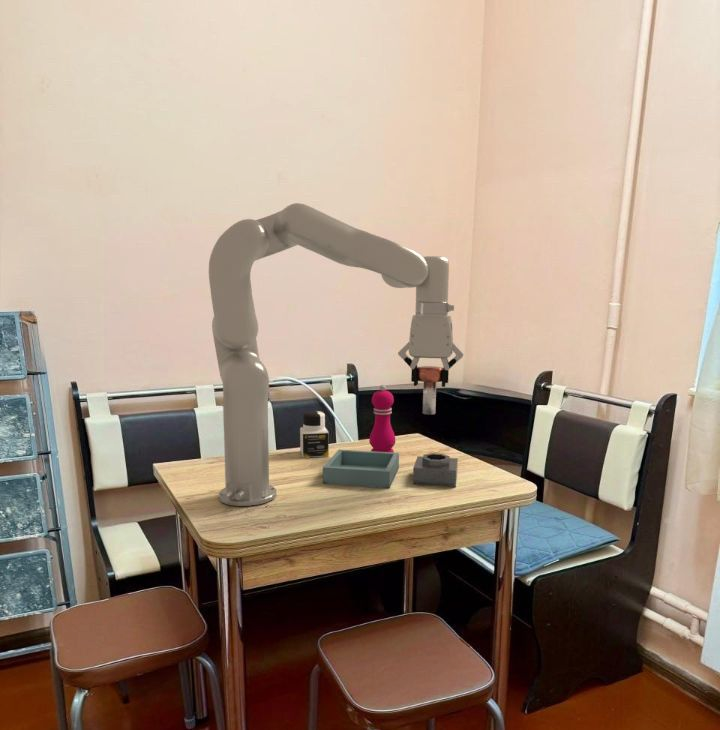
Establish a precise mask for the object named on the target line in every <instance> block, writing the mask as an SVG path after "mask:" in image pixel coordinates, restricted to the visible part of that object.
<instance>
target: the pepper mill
mask: <svg viewBox="0 0 720 730" xmlns="http://www.w3.org/2000/svg"><path fill="white" fill-rule="evenodd" d="M394 401H395V400H394V395H393V394H392V393H391V392H390V391H389V390H387V386H386V385H385V384H381V385H380V386H379V390H377V391H374V393H373V395H372V397H371V403H372V405H373V407H374V408H373V414H374V418H375V419H374V425H373V428H372V430H371V432H370V434H369V444H370V446H371V447H372V448H371V450H370V451H374V452H392V453H395V451H394V449H393V447H394V446H395V444H396V436H395V432H394V430H393V427H392V424H391V414H392V413H393V412H392V409H393V408H392V406H393V404H394Z"/></svg>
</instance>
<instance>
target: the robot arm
mask: <svg viewBox="0 0 720 730" xmlns="http://www.w3.org/2000/svg"><path fill="white" fill-rule="evenodd" d="M295 246H296V247H297V246H299V247H302V248H304V249H305V250H308V251H311V252H314V253H316V254H317V255H319V256H322V257H324V258H326V259H329V260H330V261H332V262H335V263H338V264H340V265H343V266H346V267H351V268H352V267H353V268H360V269H364V270H368V271H371V272H374V273H376V274H377V273H378V274H380V276H381V279H383V281H384V282H385V284H386V285H388V286H390V287H391V288H395V289H396V288H397V289H405V288H407V289H408V288H410V289H411V288H415V315H412V318H411V322H410V328H409V329H410V330H409V339H408V340H409V341H408V342H407V343H406V344H405V345H404V346H403V347H402V348H401V349H400V350H399V351H398V352H397V355H398V356H399V357H400V358H401V359H402V360H403V361H404V362H405V363H406V364H407V365H408V367H409V368H410V369H411V373H410V374H411V375H410V376H411V379H410V380H411V383H412V382H413V386H414V387H416V386H418V384H419V381H418V380H417V374H418V363H419V360H420V359H421V358H423V359H440V362H441V363H442V366H443V367H442V368H443V370H442V381H441V387H442V388H446V384H449V374H450V373H449V370H450V369H451V368H453V366H454V365H455V364H457V363H458V361H460V360H461V359H463V357H464V353H463V352H462V351H461V350H460V349H459V348H458V347H457V345H456V344H455V343H454V342H453V340H454V337H453V335H454V334H453V322H452V316H451V315H449V314H448V313H450V312H454V311H455V305H454V304H450V303H449V277H450V274H449V273H450V262H449V260H448V258H446V257H444V256H437V255H436V256H434V255H433V256H430V255H429V256H427V255H426V256H422V255H421V254H419V253H417V252H416V251H414V250H412V249H410V248H407V247H406V246H403V245H402V244H399V243H397V242H395V241H392V240H391V239H387V238H384V237H381V236H379V235H376V234H372V233H370V232H368V231H364V230H362V229H359V228H357V227H354V226H352V225H350V224H347V223H345V222H343V221H341V220H339V219H336V218H335V217H332V216H330V215H329V214H326V213H324V212H323V211H320V210H318V209H315V208H313V207H311V206H309V205H306V204H304V203H299V202H295V203H292V204H290V205H287V206H285V207H284V208H283V209H282V210H280V211H278V212H275V213H273V214H270V215H267V216H265V217H262V218H261V217H260V218H258V219H252V218H251V219H250V218H245V219H242V220H238V221H237V222H235V223H234V224H232V225H231V226H230V227H229V228H227V229H226V230H225V231H224V232H223V233H222V234H221V235H220V236H219V238H218V239H217V241H216V242H215V244H214V246H213V248H212V251H211V254H210V257H209V260H208V281H209V289H210V297H211V298H210V299H211V305H212V310H213V318H212V322H211V330H212V336H213V337H212V338H213V342H214V347H215V354H216V360H217V365H218V371H219V377H220V380H221V382H222V395H223V398H222V399H223V403H222V404H223V405H222V406H223V408H222V409H223V411H222V412H223V413H222V414H223V416H222V417H223V418H222V419H223V441H224V442H223V443H224V477H225V479H224V480H225V486H224V487H223V488H222V489H220V490H219V492H218V500H219V501H220V502H221V503H223V504H225V505H229V506H232V507H233V506H234V507H250V506H251V507H252V505H253V506H257V505H263V504H265V503H268V502H270V501H272V500H273V499H275V498H276V496H277V488H276V487H275V486H273V485H272V484H270V468H269V467H270V465H269V464H270V463H269V462H270V460H269V459H270V457H269V453H270V452H269V451H270V450H269V448H270V447H269V392H270V380H269V379H270V378H269V373H268V369H267V368H266V366H265V364H264V363H263V362H262V361H261V360H260V354H259V349H258V341H257V336H258V334H259V323H258V319H257V315H256V310H255V304H254V298H253V292H252V291H253V289H252V282H251V270H252V267H253V265H254V262H256V261H259V260H261V259H264V258H266V257H269V256H272V255H276V254H278V253H281V252H284V251H286V250H288V249H291V248H294V247H295ZM407 352H408V354H409V355H408V354H407ZM453 353H454V355H455V356H454V357H453V358H452V359H450V360H449V357H451V356H452V354H453ZM410 356H411V357H412V359H411V358H410Z"/></svg>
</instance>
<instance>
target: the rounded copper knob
mask: <svg viewBox="0 0 720 730" xmlns="http://www.w3.org/2000/svg"><path fill="white" fill-rule="evenodd" d="M417 368H418V374H417V380H418V382H423V389H422V391H423V392H422V393H423V395H422V414H424V415H429V416H430V415H435V414H436V406H437V405H436V404H437V403H436V402H437V400H436V399H437V383H439V382H440V383H442V370H443V367H441V366H431V365H430V366H429V365H428V366H427V365H425V366H423V365H422V366H417Z"/></svg>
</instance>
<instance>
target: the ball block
mask: <svg viewBox="0 0 720 730" xmlns="http://www.w3.org/2000/svg"><path fill="white" fill-rule="evenodd" d="M458 460H459V458H454V457H451V456H450V455H447V454H444V453H438V452H437V453H435V452H434V453H433V452H431V453H426V454H423V455H422V456H421V455H418V456H417V457H416V460H415V462H414V465H413V467H412V468H413V469H412V470H413V471H412V484H413V485H419V486H422V485H423V486H434V487H446V486H447V487H450V488H456V487H457V480H458V462H459V461H458ZM447 487H446V488H447Z"/></svg>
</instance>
